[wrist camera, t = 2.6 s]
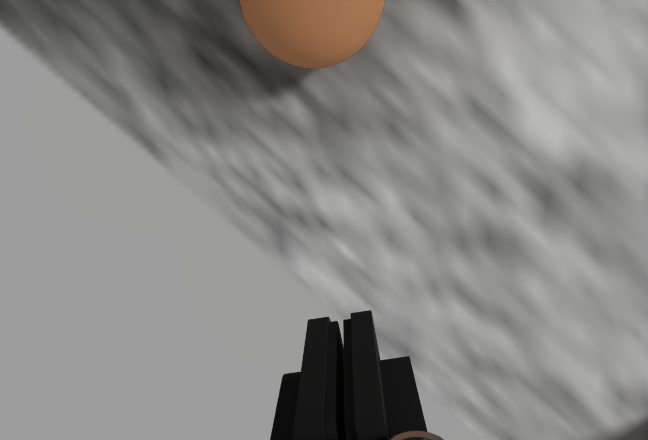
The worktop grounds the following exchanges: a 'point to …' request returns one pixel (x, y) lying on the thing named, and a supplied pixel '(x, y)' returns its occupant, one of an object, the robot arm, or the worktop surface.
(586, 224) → the worktop surface
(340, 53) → the ball
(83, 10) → the worktop surface
